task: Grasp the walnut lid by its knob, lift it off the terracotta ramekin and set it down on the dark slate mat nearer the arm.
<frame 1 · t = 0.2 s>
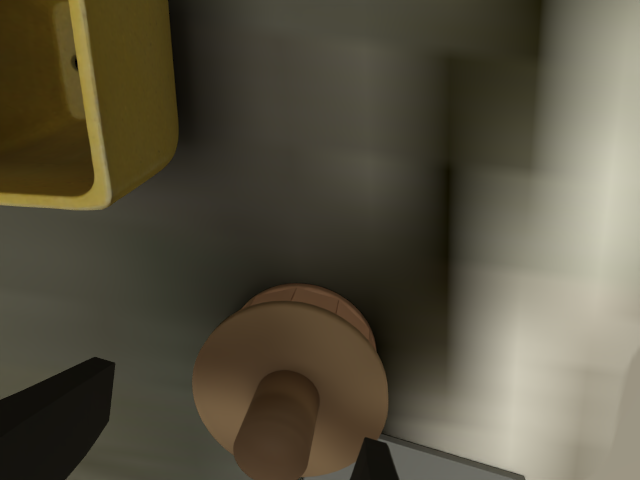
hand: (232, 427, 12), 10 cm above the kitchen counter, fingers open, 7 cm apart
flower pot: (123, 62, 19), on the kitchen counter
bowl: (301, 351, 22), on the kitchen counter
lid: (290, 388, 20), point 3 cm above the kitchen counter, touching bowl
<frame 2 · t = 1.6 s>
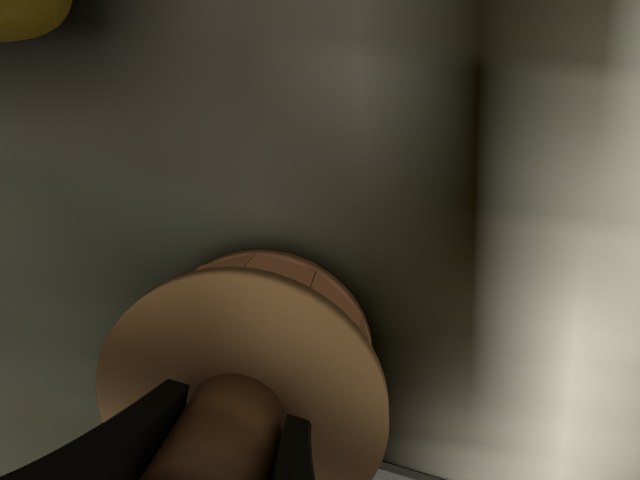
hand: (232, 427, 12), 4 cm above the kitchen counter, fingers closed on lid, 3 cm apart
bowl: (268, 347, 16), on the kitchen counter
lid: (244, 399, 13), point 3 cm above the kitchen counter, touching bowl, gripper
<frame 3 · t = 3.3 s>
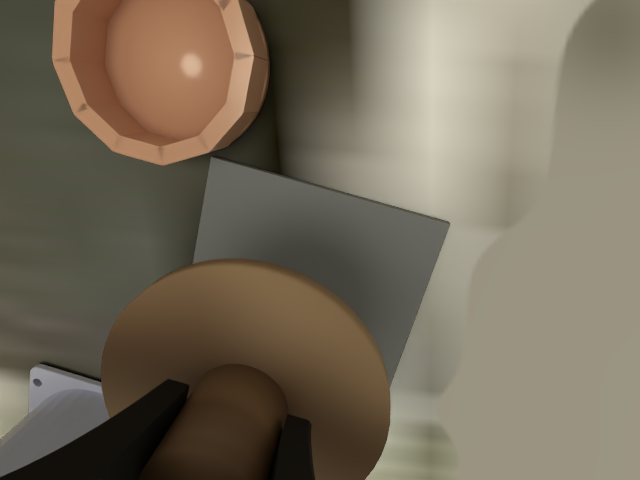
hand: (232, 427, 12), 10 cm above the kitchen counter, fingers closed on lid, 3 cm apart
bowl: (184, 64, 19), on the kitchen counter
lid: (247, 390, 13), point 8 cm above the kitchen counter, touching gripper
mat: (301, 295, 22), on the kitchen counter
when the fingers open (3 cm above the kitchen counter, at t = 5.0 s): lid drops 1 cm, resting on mat.
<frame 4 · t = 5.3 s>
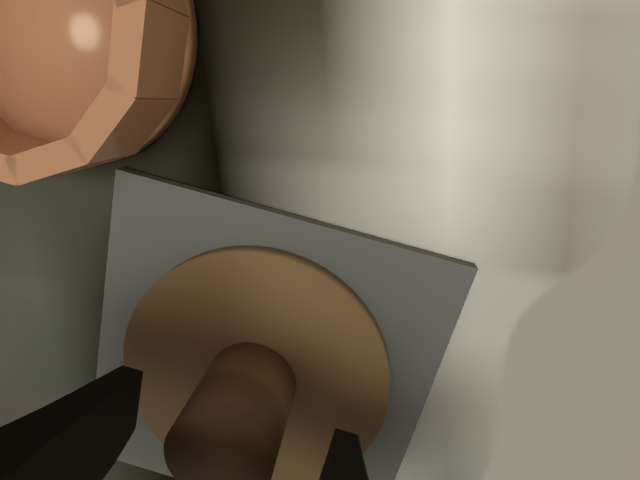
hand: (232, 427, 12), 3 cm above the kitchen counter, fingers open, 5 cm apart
bowl: (68, 28, 12), on the kitchen counter
lid: (258, 368, 15), resting on mat
mat: (259, 365, 15), on the kitchen counter
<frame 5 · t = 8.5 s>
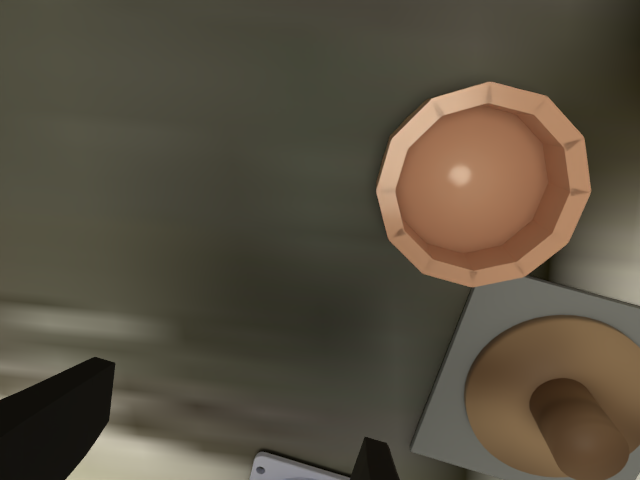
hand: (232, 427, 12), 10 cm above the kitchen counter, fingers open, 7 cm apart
bowl: (465, 179, 20), on the kitchen counter
lid: (554, 394, 21), resting on mat
mat: (550, 392, 22), on the kitchen counter
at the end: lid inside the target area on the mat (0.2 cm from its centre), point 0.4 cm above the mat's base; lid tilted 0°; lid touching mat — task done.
